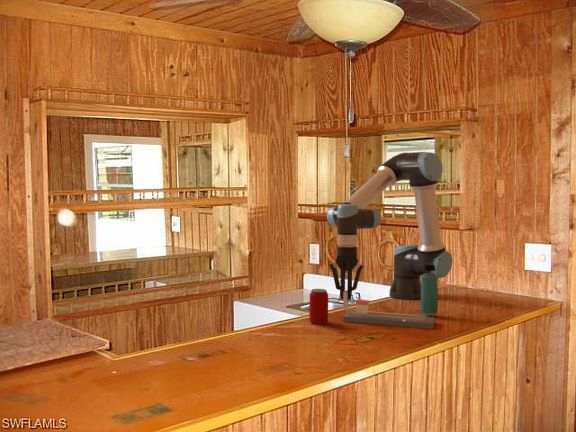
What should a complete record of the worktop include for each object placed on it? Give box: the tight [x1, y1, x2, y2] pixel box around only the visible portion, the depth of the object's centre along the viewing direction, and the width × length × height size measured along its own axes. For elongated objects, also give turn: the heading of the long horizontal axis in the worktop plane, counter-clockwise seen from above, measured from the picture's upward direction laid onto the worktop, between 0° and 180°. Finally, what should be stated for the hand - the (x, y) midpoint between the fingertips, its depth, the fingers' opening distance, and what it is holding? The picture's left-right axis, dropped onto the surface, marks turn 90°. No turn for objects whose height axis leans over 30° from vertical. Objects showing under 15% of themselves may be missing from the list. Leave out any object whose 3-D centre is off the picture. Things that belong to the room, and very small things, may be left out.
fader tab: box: [355, 298, 370, 314], centre depth 227 cm, size 3×4×5 cm
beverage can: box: [308, 288, 329, 325], centre depth 222 cm, size 7×7×12 cm
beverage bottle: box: [420, 265, 439, 315], centre depth 234 cm, size 6×7×20 cm
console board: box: [342, 310, 436, 330], centre depth 224 cm, size 10×32×3 cm, turn 72°
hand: (345, 308), depth 229 cm, fingers closed
